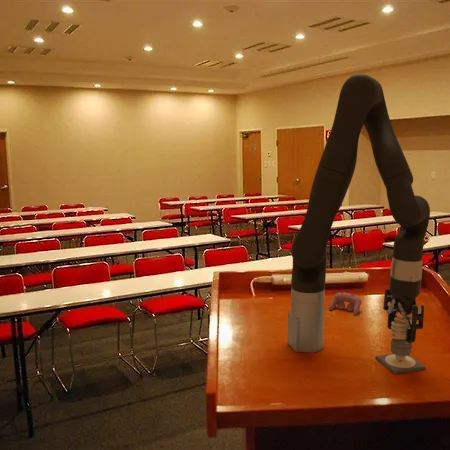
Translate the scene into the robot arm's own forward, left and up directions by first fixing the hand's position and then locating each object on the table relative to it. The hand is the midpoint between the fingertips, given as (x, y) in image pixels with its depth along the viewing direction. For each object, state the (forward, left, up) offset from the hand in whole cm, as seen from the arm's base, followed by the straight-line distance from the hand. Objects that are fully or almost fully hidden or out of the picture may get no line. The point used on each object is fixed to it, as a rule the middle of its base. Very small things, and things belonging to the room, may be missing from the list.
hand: (400, 335), depth 138 cm
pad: (+1, 0, -8) cm, 8 cm away
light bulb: (+1, 0, -8) cm, 8 cm away
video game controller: (+5, +38, -9) cm, 40 cm away
